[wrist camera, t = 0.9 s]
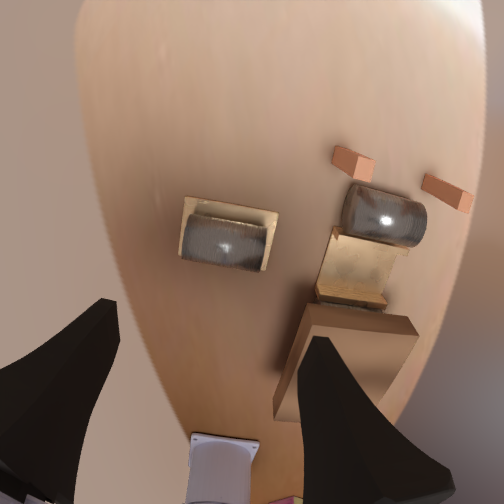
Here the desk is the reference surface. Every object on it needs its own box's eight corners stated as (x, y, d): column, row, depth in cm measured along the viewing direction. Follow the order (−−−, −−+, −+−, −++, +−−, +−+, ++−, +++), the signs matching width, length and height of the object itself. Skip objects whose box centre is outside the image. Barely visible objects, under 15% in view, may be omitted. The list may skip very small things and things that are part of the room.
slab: (358, 403, 26) (364, 423, 23) (272, 398, 25) (273, 420, 23) (407, 316, 21) (419, 336, 19) (307, 302, 21) (312, 324, 19)
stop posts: (431, 192, 21) (468, 213, 16) (331, 163, 20) (352, 178, 16) (436, 177, 20) (474, 195, 16) (335, 145, 20) (358, 156, 15)
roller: (266, 221, 22) (267, 237, 19) (257, 260, 23) (258, 281, 20) (193, 207, 21) (184, 222, 19) (188, 247, 23) (179, 266, 20)
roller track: (336, 385, 29) (342, 410, 26) (170, 363, 28) (163, 388, 25) (414, 198, 21) (435, 211, 18) (192, 147, 20) (181, 154, 17)
